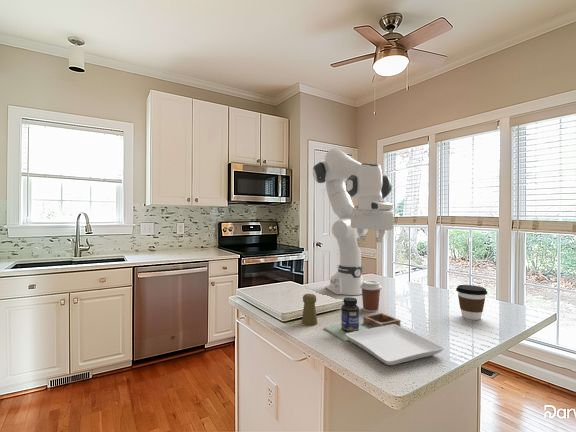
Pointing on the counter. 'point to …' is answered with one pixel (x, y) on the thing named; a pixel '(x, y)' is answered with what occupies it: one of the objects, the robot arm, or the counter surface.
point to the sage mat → (340, 331)
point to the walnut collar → (373, 320)
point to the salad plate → (393, 344)
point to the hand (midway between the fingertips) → (370, 241)
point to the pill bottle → (350, 315)
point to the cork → (309, 310)
